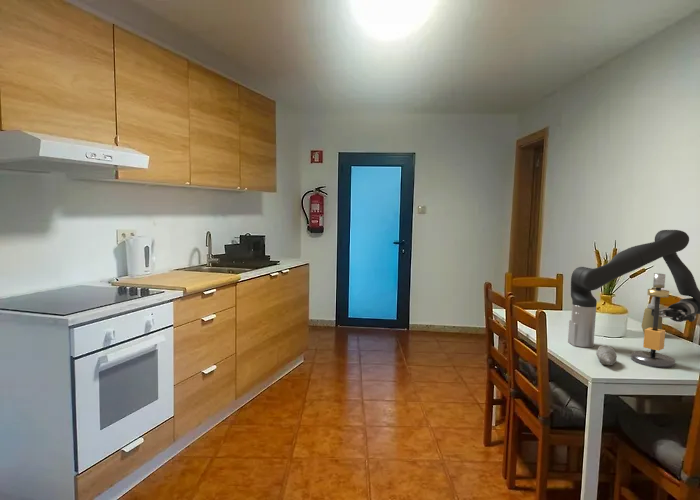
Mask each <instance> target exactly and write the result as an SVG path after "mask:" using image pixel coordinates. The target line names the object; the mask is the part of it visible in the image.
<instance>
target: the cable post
mask: <svg viewBox="0 0 700 500" xmlns="http://www.w3.org/2000/svg"><path fill="white" fill-rule="evenodd" d="M665 283H666V274H664V273H657V272H656V273H653V282H652V287H653V288H647V296H650V297H655V306H654V318H653V330H654V331H658V319H659V308H660V306H661V298H669V297H670V291H669V290H667V289H665V288H666V287H665V286H666V284H665ZM660 309H661V308H660ZM630 359H631V361H633V362H634V363H636V364H640V365H641V366H647V367H650V368H656V369H658V368H659V369H672V368H675V366H676V365H675V364H676V359H675V358H674V357H672V356H669V355H667V354H663V353H659V352H657V350H653V349H650V351H648V350H647V351H646V350H635V351H632V352H631V356H630Z"/></svg>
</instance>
